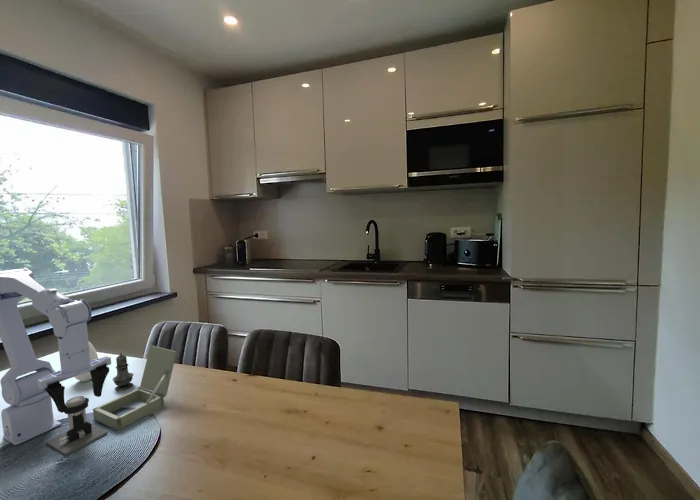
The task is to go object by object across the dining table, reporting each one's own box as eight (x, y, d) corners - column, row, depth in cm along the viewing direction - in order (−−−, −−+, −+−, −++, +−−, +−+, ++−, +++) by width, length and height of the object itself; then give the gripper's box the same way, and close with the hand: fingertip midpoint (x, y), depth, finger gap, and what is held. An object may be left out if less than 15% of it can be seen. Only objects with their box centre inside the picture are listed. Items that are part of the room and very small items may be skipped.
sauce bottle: (76, 378, 120) (70, 329, 119) (102, 373, 124) (97, 326, 122) (68, 387, 113) (63, 336, 112) (96, 382, 117) (91, 332, 115)
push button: (65, 449, 81) (61, 410, 80) (55, 443, 84) (50, 405, 83) (96, 433, 87) (92, 396, 86) (85, 427, 90) (81, 392, 89)
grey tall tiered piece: (126, 391, 110) (123, 356, 109) (109, 391, 110) (105, 356, 109) (138, 382, 116) (135, 349, 115) (121, 382, 116) (118, 349, 115)
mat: (65, 455, 80) (65, 453, 80) (46, 443, 84) (46, 441, 84) (107, 433, 88) (107, 431, 88) (87, 423, 92) (87, 422, 92)
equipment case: (117, 430, 89) (112, 375, 87) (93, 419, 94) (88, 367, 93) (180, 397, 105) (176, 350, 104) (157, 389, 111) (153, 344, 109)
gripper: (44, 365, 74) (51, 423, 75) (115, 342, 87) (120, 392, 88) (30, 359, 77) (37, 415, 78) (100, 339, 90) (105, 387, 91)
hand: (80, 403), depth 83 cm, fingers open, 7 cm apart
